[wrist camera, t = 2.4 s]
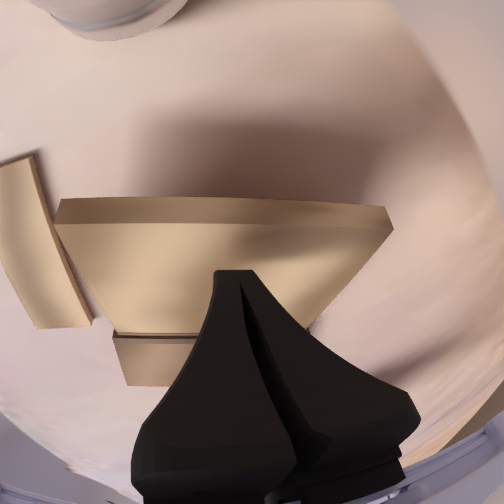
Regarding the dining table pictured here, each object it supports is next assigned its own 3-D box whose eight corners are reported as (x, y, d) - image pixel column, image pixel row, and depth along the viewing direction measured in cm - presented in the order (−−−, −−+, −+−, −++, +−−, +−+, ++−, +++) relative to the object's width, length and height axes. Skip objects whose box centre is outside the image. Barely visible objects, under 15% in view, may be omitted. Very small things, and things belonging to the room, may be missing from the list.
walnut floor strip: (305, 321, 23) (310, 333, 22) (290, 368, 26) (293, 379, 25) (114, 325, 20) (112, 338, 19) (128, 374, 23) (127, 386, 22)
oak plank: (384, 206, 13) (394, 229, 12) (302, 314, 22) (305, 330, 22) (61, 199, 10) (52, 225, 9) (119, 317, 20) (118, 334, 19)
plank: (37, 152, 14) (28, 158, 13) (94, 314, 20) (91, 325, 19) (-21, 172, 13) (-31, 179, 12) (41, 318, 20) (36, 329, 19)
